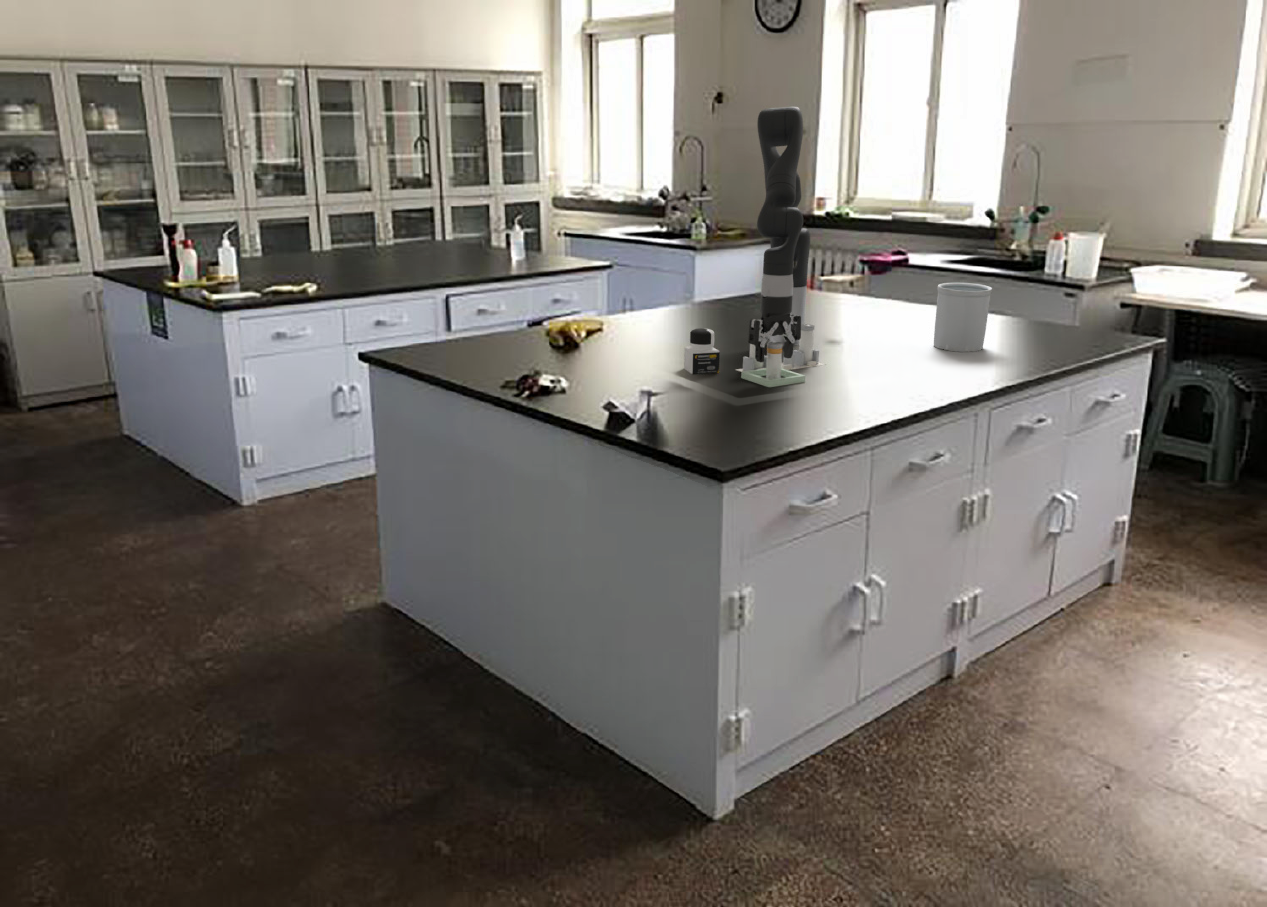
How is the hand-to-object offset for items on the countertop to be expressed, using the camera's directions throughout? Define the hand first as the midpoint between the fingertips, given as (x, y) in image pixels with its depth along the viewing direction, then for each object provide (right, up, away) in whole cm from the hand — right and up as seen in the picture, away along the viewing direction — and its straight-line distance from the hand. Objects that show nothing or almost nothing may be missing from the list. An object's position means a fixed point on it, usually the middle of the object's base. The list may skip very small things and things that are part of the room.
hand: (773, 359), depth 253 cm
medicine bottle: (-17, -3, +11) cm, 21 cm away
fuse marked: (0, -6, +2) cm, 6 cm away
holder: (+4, -2, +15) cm, 16 cm away
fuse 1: (-3, -2, +11) cm, 11 cm away
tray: (0, -6, +2) cm, 6 cm away
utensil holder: (+60, +8, +47) cm, 76 cm away
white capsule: (+11, +1, +19) cm, 22 cm away
